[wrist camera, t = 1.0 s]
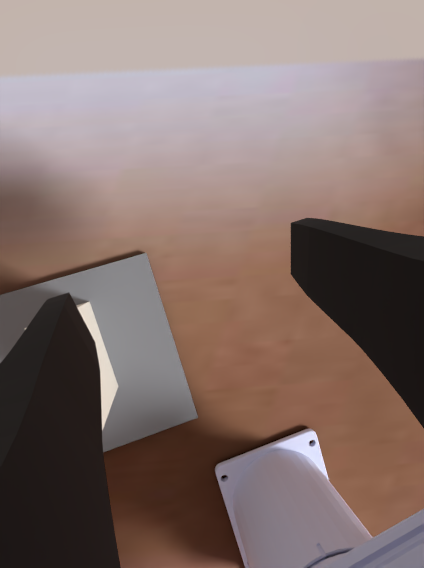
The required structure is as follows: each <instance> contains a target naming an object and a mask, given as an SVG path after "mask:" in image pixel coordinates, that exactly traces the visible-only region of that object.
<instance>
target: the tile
mask: <svg viewBox="0 0 424 568" xmlns="http://www.w3.org/2000/svg"><path fill="white" fill-rule="evenodd" d="M76 306H77V308H78V310H79V312H80V314H81V316H82V318H83V320H84V322H85V324H86V326H87V327H88V329H89V331H90V333H91V335H92V337H93V339H94V341H95V344H96V349H97V355H98V360H99V367H100V378H101V409H102V430H103V428H104V425H105V422H106V419H107V416H108V414H109V411H110V408H111V405H112V403H113V400H114V397H115V394H116V391H117V389H118V384H117V381H116V378H115V375H114V372H113V369H112V366H111V363H110V360H109V357H108V354H107V351H106V348H105V346H104V343H103V340H102V337H101V334H100V331H99V328H98V325H97V322H96V319H95V316H94V313H93V310H92V307H91V304H90V301H89V302H86V303H83V304H80V305H76ZM25 330H26V328H25Z"/></svg>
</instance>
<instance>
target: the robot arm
mask: <svg viewBox="0 0 424 568" xmlns="http://www.w3.org/2000/svg"><path fill="white" fill-rule="evenodd" d="M291 275H292V276H293V278H294V279H295V280H296V282H297V283H298V284H299V286H300V287H301V288H302V289H303V291H304V292H305V293H306V294H307V296H308V297H309V298H310V299H311V300H312V301H313V302H314V303H315V304H316V305H317V306H319V307H320V308H321V309H322V310H323V311H324V312H325V313H326V314H327V315H328V316H329V317H330V318H331V319H332V320H333V321H334V322H335V323H336V324H337V325H338V326H339V327H340V328H341V329H342V330H344V331H345V332H346V333H347V334H348V335H349V336H350V337H351V338H352V339H353V340H354V341H355V342H356V343H357V344H358V345H359V346H360V347H361V349H362V350H363V351H364V352H365V353H366V354H367V356H368V357H369V358H370V359H371V360H372V362H373V363H374V364H375V365H376V366H377V367H378V369H379V370H380V371H381V372H382V374H383V375H384V376H385V377H386V379H387V380H388V381H389V382H390V384H391V385H392V386H393V388H394V389H395V390H396V391H397V393H398V394H399V395H400V396H401V398H402V399H403V400H404V402H405V403H406V405H407V406H408V407H409V409H410V410H411V411H412V413H413V414H414V415H415V417H416V418H417V420H418V421H419V422H420V424H421V425H422V426H423V428H424V237H423V236H415V235H408V234H401V233H394V232H388V231H382V230H376V229H371V228H366V227H360V226H355V225H350V224H345V223H339V222H334V221H328V220H322V219H314V218H305V219H302V220H299V221H296V222H293V223H291ZM311 440H313V442H312V443H311V444H309V442H310V441H311ZM215 473H216V477H217V480H218V483H219V486H220V489H221V492H222V496H223V499H224V502H225V505H226V508H227V512H228V515H229V518H230V521H231V524H232V527H233V531H234V534H235V537H236V540H237V543H238V546H239V550H240V553H241V556H242V559H243V562H244V566H245V568H424V509H422V510H421V511H419V512H417V513H415V514H414V515H412V516H410V517H408V518H407V519H405V520H403V521H401V522H400V523H398V524H396V525H394V526H393V527H391V528H389V529H387V530H386V531H384V532H382V533H380V534H379V535H377V536H375V537H372V536H371V534H370V533H369V532H368V531H367V529H366V528H365V527H364V525H363V524H362V523H361V522H360V520H359V519H358V518H357V516H356V515H355V514H354V513H353V511H352V510H351V509H350V507H349V506H348V505H347V504H346V502H345V501H344V500H343V498H342V497H341V496H340V494H339V493H338V492H337V491H336V489H335V488H334V487H333V485H332V484H331V483H330V482H329V479H328V475H327V472H326V468H325V464H324V461H323V457H322V453H321V450H320V446H319V442H318V439H317V435H316V433H315V432H314V431H313V430H312V429H310V428H309V429H305V430H303V431H300V432H297V433H295V434H292V435H290V436H287V437H285V438H282V439H280V440H277V441H274V442H272V443H269V444H267V445H264V446H262V447H259V448H257V449H254V450H252V451H249V452H246V453H244V454H241V455H239V456H236V457H234V458H231V459H229V460H226V461H223V462H221V463H219V464H217V465H216V467H215ZM223 475H227V476H226V477H225V478H221V477H222V476H223ZM0 568H120V562H119V556H118V550H117V544H116V539H115V533H114V526H113V520H112V513H111V507H110V500H109V494H108V486H107V479H106V472H105V464H104V456H103V443H102V409H101V378H100V367H99V360H98V355H97V349H96V344H95V341H94V339H93V337H92V335H91V333H90V331H89V329H88V327H87V326H86V324H85V322H84V320H83V318H82V316H81V314H80V312H79V310H78V308H77V306H76V304H75V302H74V301H73V299H72V297H71V295H70V293H69V292H68V293H65V294H62V295H59V296H56V297H52V298H49V299H47V300H46V301H45V303H44V304H43V305H42V307H41V308H40V309H39V311H38V312H37V314H36V315H35V317H34V318H33V319H32V321H31V322H30V324H29V325H28V327H27V328H26V330H25V331H24V332H23V334H22V335H21V337H20V338H19V339H18V341H17V342H16V344H15V345H14V346H13V348H12V349H11V351H10V352H9V353H8V354H7V356H6V357H5V358H4V359H3V361H2V362H1V363H0Z"/></svg>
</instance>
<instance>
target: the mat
mask: <svg viewBox="0 0 424 568" xmlns="http://www.w3.org/2000/svg"><path fill="white" fill-rule="evenodd" d="M68 292H69V293H70V295H71V297H72V299H73V301H74V302H75V304H76V305H80V304H83V303H86V302H89V301H90V304H91V307H92V310H93V313H94V316H95V319H96V322H97V325H98V328H99V331H100V334H101V337H102V340H103V343H104V346H105V348H106V351H107V354H108V357H109V360H110V363H111V366H112V369H113V372H114V375H115V378H116V381H117V384H118V389H117V391H116V394H115V397H114V400H113V403H112V405H111V408H110V411H109V414H108V416H107V419H106V422H105V425H104V428H103V430H102V443H103V452H106V451H109V450H111V449H114V448H117V447H120V446H122V445H125V444H128V443H130V442H133V441H136V440H139V439H141V438H144V437H147V436H149V435H152V434H155V433H158V432H160V431H163V430H166V429H168V428H171V427H174V426H177V425H179V424H182V423H185V422H187V421H190V420H193V419H196V418H198V416H197V412H196V409H195V406H194V403H193V399H192V396H191V393H190V390H189V387H188V384H187V380H186V377H185V374H184V371H183V368H182V364H181V361H180V358H179V355H178V352H177V349H176V345H175V342H174V339H173V336H172V333H171V330H170V326H169V323H168V320H167V317H166V314H165V310H164V307H163V304H162V301H161V298H160V295H159V291H158V288H157V285H156V282H155V279H154V275H153V272H152V269H151V266H150V263H149V260H148V256H147V253H144V254H140V255H137V256H133V257H130V258H127V259H123V260H120V261H116V262H113V263H109V264H106V265H102V266H99V267H95V268H92V269H88V270H85V271H81V272H78V273H75V274H71V275H68V276H64V277H61V278H57V279H54V280H50V281H47V282H43V283H40V284H36V285H33V286H29V287H26V288H23V289H19V290H16V291H12V292H9V293H5V294H2V295H0V363H1V362H2V361H3V359H4V358H5V357H6V356H7V354H8V353H9V352H10V351H11V349H12V348H13V346H14V345H15V344H16V342H17V341H18V339H19V338H20V337H21V335H22V334H23V332H24V331H25V328H27V327H28V325H29V324H30V322H31V321H32V319H33V318H34V317H35V315H36V314H37V312H38V311H39V309H40V308H41V307H42V305H43V304H44V303H45V301H46V300H47V299H49V298H52V297H56V296H59V295H62V294H65V293H68Z"/></svg>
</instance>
